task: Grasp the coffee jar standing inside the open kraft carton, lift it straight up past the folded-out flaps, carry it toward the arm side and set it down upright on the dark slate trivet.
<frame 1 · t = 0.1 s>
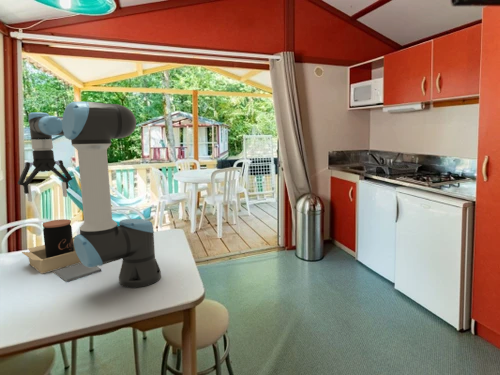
hand: (48, 198, 139), 28 cm above the table, fingers open, 13 cm apart
coffee jar: (61, 262, 141), resting in carton
trivet: (77, 272, 129), on the table
carton: (61, 261, 141), on the table
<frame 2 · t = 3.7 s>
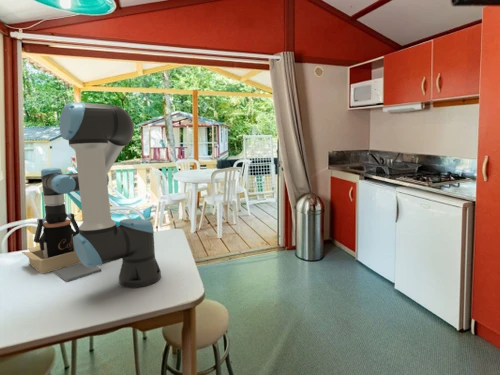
hand: (60, 253, 140), 4 cm above the table, fingers closed on coffee jar, 11 cm apart
coffee jar: (61, 262, 141), resting in carton, touching gripper
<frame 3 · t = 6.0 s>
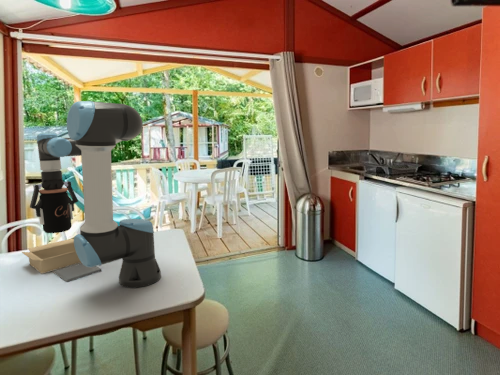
hand: (56, 221, 138), 18 cm above the table, fingers closed on coffee jar, 11 cm apart
coffee jar: (58, 230, 139), point 14 cm above the table, touching gripper
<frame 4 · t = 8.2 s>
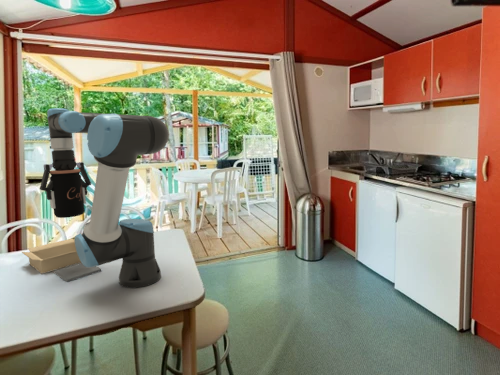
hand: (68, 205, 127), 27 cm above the table, fingers closed on coffee jar, 11 cm apart
coffee jar: (70, 215, 127), point 23 cm above the table, touching gripper
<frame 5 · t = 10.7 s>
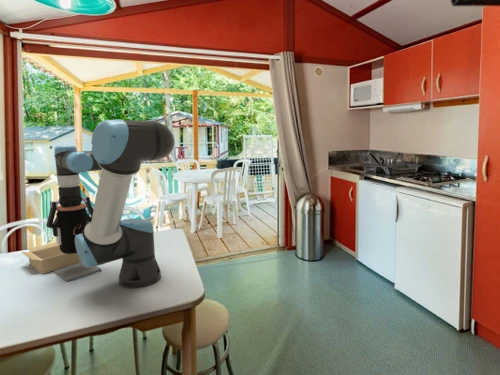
hand: (74, 240, 128), 13 cm above the table, fingers closed on coffee jar, 11 cm apart
coffee jar: (75, 250, 128), point 9 cm above the table, touching gripper
when the fingers open (6 cm above the table, at t = 13.0 s): coffee jar stays where it is, resting on trivet.
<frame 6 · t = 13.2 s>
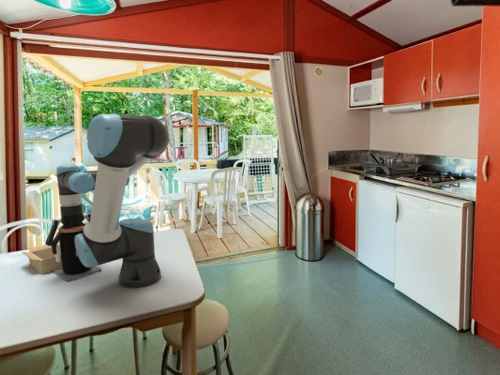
hand: (76, 256, 128), 7 cm above the table, fingers open, 13 cm apart
coffee jar: (77, 270, 129), point 1 cm above the table, touching trivet
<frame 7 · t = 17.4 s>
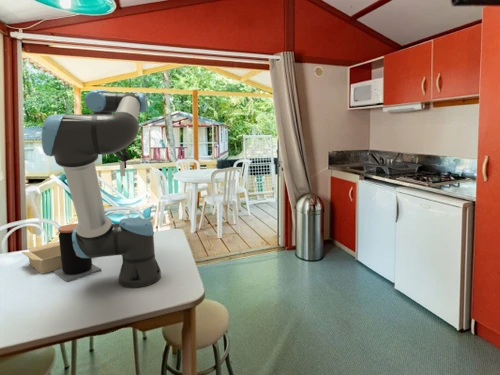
hand: (108, 177, 140), 37 cm above the table, fingers open, 13 cm apart
nothing on the table moved.
at the end: coffee jar inside the target area on the trivet (0.0 cm from its centre), point 0.8 cm above the trivet's base; coffee jar tilted 0°; the gripper is holding nothing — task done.
